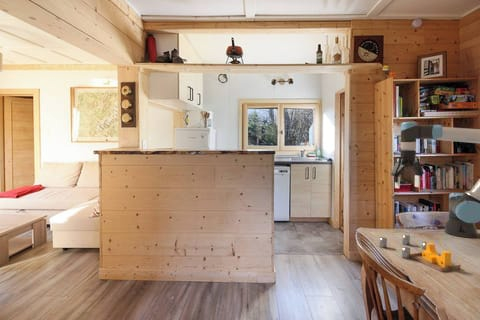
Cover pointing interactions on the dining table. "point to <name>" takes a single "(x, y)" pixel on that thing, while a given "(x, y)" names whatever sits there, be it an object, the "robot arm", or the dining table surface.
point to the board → (434, 265)
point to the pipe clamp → (436, 256)
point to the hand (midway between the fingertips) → (407, 187)
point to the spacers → (404, 249)
